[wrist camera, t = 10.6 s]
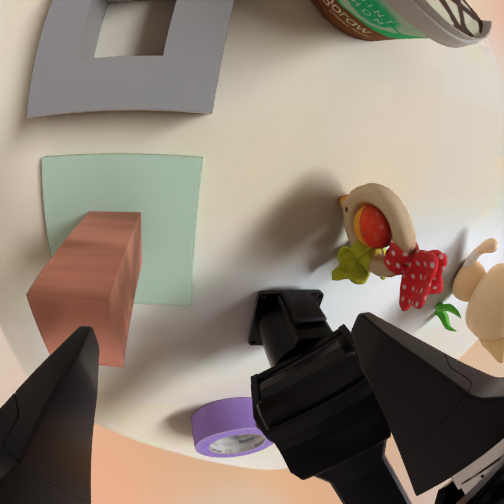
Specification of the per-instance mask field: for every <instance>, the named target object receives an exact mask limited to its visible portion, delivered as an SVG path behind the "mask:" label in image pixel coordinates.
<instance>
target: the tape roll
mask: <svg viewBox="0 0 504 504" xmlns="http://www.w3.org/2000/svg"><path fill="white" fill-rule="evenodd" d="M191 422H192V430H193V438H194V445H195V449H196V451H197V452H198V453H200V454H202V455H205V456H210V457H237V456H243V455H247V454H251V453H255V452H258V451H260V450H263V449H265V448H267V447H269V446H271V445H272V444H273V443H272V442H271V441H269V440H268V439H267V438H266V437H265V436H264V434H263V433H262V431H261V430H259V429H257V427H256V425H255V420H254V418H253V407H252V398H243V397H241V398H229V399H223V400H219V401H215V402H212V403H209V404H207V405H205V406H203V407H201V408H199V409H198V410H196V411H195V412H194V414H193V415H192V418H191Z"/></svg>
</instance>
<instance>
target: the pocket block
mask: <svg viewBox="0 0 504 504" xmlns="http://www.w3.org/2000/svg"><path fill="white" fill-rule="evenodd" d="M123 1H136V0H52V2H51V5H50V7H49V10H48V13H47V16H46V19H45V22H44V26H43V29H42V33H41V36H40V40H39V44H38V48H37V52H36V56H35V61H34V66H33V71H32V77H31V83H30V90H29V98H28V107H27V118H35V117H45V116H54V115H62V114H72V113H84V112H100V111H169V112H186V113H198V114H212V111H213V105H214V98H215V92H216V87H217V81H218V75H219V70H220V64H221V59H222V54H223V49H224V44H225V39H226V34H227V30H228V25H229V21H230V16H231V12H232V8H233V4H234V0H177V1H176V4H175V8H174V11H173V15H172V19H171V23H170V27H169V31H168V35H167V39H166V44H165V48H164V53H163V56H117V57H103V58H94V53H95V49H96V44H97V40H98V36H99V32H100V28H101V25H102V21H103V18H104V14H105V11H106V8H107V5H108V3H113V2H123Z"/></svg>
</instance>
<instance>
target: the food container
mask: <svg viewBox="0 0 504 504" xmlns="http://www.w3.org/2000/svg"><path fill="white" fill-rule="evenodd" d="M311 1H312V3H313V4H314V5H315V7H316V8H317V9H318V11H319V12H320V13H321V15H322V16H323V17H324V18H325V19H326V20H328V21H329V22H330V23H331V24H332V25H333V26H335V27H336V28H337V29H339V30H340V31H342V32H344V33H346V34H347V35H349V36H352V37H354V38H357V39H361V40H365V41H381V40H393V39H411V38H430V39H432V40H434V41H436V42H437V43H439V44H442V45H445V46H447V47H453V48H458V47H464V46H467V45H471V44H475V43H477V42H479V41H481V40H482V39H484V38H486V37H487V36H488V35H489V33H490V31H491V27H492V21H483V20H480V18H479V17H478V15H477V14H476V13H475V12H474V10H473V9H472V8H471V7H470V6H469V5H468V3H467V2H466V1H465V0H311Z"/></svg>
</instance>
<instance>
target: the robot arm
mask: <svg viewBox="0 0 504 504" xmlns="http://www.w3.org/2000/svg"><path fill="white" fill-rule="evenodd" d="M317 295H318V296H317ZM262 296H265V297H264V298H261V297H262ZM322 299H323V293H322V291H320V290H284V291H261V292H259V293H258V295H257V298H256V303H255V308H254V313H253V317H252V322H251V327H250V332H249V336H248V343H249V345H263V347H264V349H265V352H266V355H267V358H268V361H269V363H270V366H271V368H269V369H267V370H265V371H263V372H262V373H260V374H255V375H253V376H251V394H252V407H253V418H254V420H255V425H256V427H257V429H259V430H261V431H262V433H263V434H264V436H265V437H266V438H267V439H268V440H269V441H271V442H272V443H275V445H276V446H277V448H278V449H279V451H280V453H281V454H282V456H283V458H284V460H285V462H286V464H287V466H288V468H289V470H290V472H291V473H293V474H294V475H296V476H297V477H299V478H300V479H302V480H305V479H308V478H310V477H312V476H315V477H317V478H320V479H322V480H324V481H327V482H329V483H330V484H331V486H332V487H333V489H334V490H335V492H336V493H337V495H338V496H339V498H340V500H341V501H342V503H343V504H412V503H411V501H410V499H409V498H408V496H407V494H406V492H405V490H404V488H403V486H402V484H401V483H400V481H399V479H398V477H397V475H396V473H395V472H394V470H393V468H392V466H391V464H390V463H389V461H388V459H387V457H386V455H385V448H386V441H387V439H388V438H390V436H391V433H392V435H393V437H394V440H395V442H396V445H397V447H398V449H399V452H400V455H401V457H402V460H403V462H404V465H405V468H406V470H407V473H408V476H409V478H410V481H411V484H412V486H413V489H414V492H415V494H416V496H418V495H420V494H422V493H424V492H426V491H428V490H430V489H431V488H433V487H435V486H437V485H439V484H440V483H442V482H444V481H445V480H447V479H449V478H450V477H451V478H452V480H451V481H449V482H448V483H447V484H446V485H445V486H443V487H442V488H441V489H439V490H438V493H437V497H436V500H435V504H504V377H502V378H499V377H494V376H491V375H489V374H486V373H484V372H482V371H480V370H477V369H475V368H473V367H471V366H469V365H466V364H464V363H462V362H460V361H458V360H456V359H454V358H453V357H451V356H449V355H447V354H445V353H443V352H441V351H440V350H438V349H436V348H434V347H432V346H430V345H429V344H427V343H425V342H423V341H421V340H419V339H418V338H416V337H414V336H412V335H410V334H408V333H406V332H405V331H403V330H401V329H399V328H397V327H395V326H394V325H392V324H390V323H388V322H386V321H384V320H383V319H381V318H379V317H377V316H375V315H373V314H371V313H369V312H366V313H360V314H359V315H358V316H357V318H356V321H355V323H354V326H353V328H352V331H351V332H350V331H349V330H348V328H347V327H346V326H345V325H344V324H343V325H341V326H340V327H338V328H339V329H337V330H335V331H334V332H333V331H332V330H331V328H330V326H329V325H328V323H327V322H326V320H327V318H326V316H325V315H324V313H323V312H322V310H321V309H320V304H321V302H322ZM253 340H254V341H253ZM99 352H100V350H99V344H98V341H97V338H96V335H95V332H94V329H93V328H92V327H91V326H80V327H78V328H77V329H76V330H75V331H74V332H73V333H72V334H71V335H70V336H69V337H68V338H67V339H66V340H65V341H64V342H63V343H62V344H61V345H60V346H59V347H58V348H57V349H56V350H55V351H54V352H53V353H52V354H51V355H50V356H49V357H48V358H47V359H46V360H45V361H44V362H43V363H42V364H41V365H40V366H39V367H38V368H37V369H36V370H35V371H34V372H33V373H32V374H31V375H30V377H29V378H28V379H27V380H26V381H25V382H24V383H23V384H22V385H21V386H20V387H19V388H18V390H17V391H16V392H15V393H16V394H15V393H14V394H13V395H12V396H11V397H10V398H9V400H8V401H7V402H6V403H5V404H4V405H3V406H2V407H1V408H0V504H91V452H92V436H93V425H94V416H95V407H96V400H97V388H98V367H99Z"/></svg>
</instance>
